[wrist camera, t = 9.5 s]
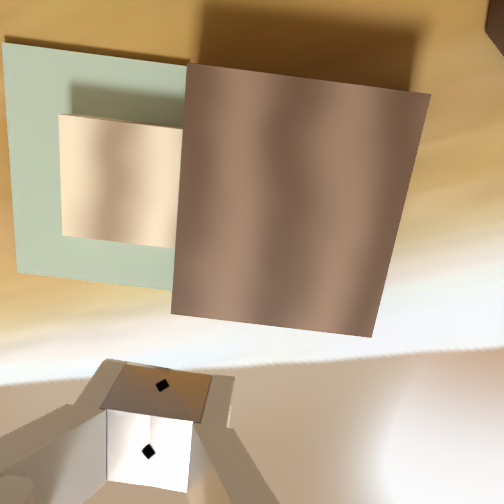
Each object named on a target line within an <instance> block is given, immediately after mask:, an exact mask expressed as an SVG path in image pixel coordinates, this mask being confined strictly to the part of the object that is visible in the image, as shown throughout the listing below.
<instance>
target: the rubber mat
mask: <svg viewBox="0 0 504 504" xmlns="http://www.w3.org/2000/svg"><path fill="white" fill-rule="evenodd" d="M2 55H3V70H4V84H5V99H6V113H7V128H8V143H9V157H10V172H11V186H12V201H13V215H14V230H15V245H16V259H17V272H18V273H26V274H35V275H43V276H52V277H60V278H68V279H77V280H85V281H93V282H102V283H110V284H118V285H127V286H135V287H143V288H152V289H160V290H169V291H172V289H173V273H174V258H175V249H173V248H165V247H156V246H148V245H139V244H131V243H122V242H114V241H105V240H97V239H88V238H80V237H71V236H63V235H62V209H61V179H60V150H59V120H58V114H71V113H72V114H80V115H88V116H96V117H105V118H113V119H121V120H129V121H137V122H145V123H154V124H162V125H170V126H178V127H183V117H184V101H185V85H186V70H187V66H182V65H174V64H166V63H159V62H151V61H143V60H135V59H128V58H120V57H112V56H104V55H97V54H89V53H81V52H74V51H66V50H58V49H50V48H43V47H35V46H27V45H19V44H12V43H4V42H2Z"/></svg>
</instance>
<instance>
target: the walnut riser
mask: <svg viewBox="0 0 504 504" xmlns="http://www.w3.org/2000/svg"><path fill="white" fill-rule="evenodd" d="M430 97H431V94H425V93H418V92H410V91H402V90H395V89H387V88H379V87H371V86H364V85H356V84H348V83H340V82H333V81H325V80H317V79H309V78H302V77H294V76H286V75H279V74H271V73H263V72H255V71H248V70H240V69H232V68H224V67H217V66H209V65H201V64H194V63H187V70H186V85H185V101H184V117H183V132H182V148H181V164H180V179H179V195H178V211H177V226H176V242H175V258H174V273H173V289H172V305H171V314H176V315H184V316H193V317H201V318H210V319H218V320H226V321H235V322H243V323H252V324H260V325H269V326H277V327H285V328H294V329H302V330H311V331H319V332H328V333H336V334H344V335H353V336H361V337H370V338H371V337H372V333H373V329H374V325H375V321H376V317H377V313H378V309H379V305H380V301H381V297H382V292H383V288H384V284H385V280H386V276H387V272H388V268H389V264H390V260H391V256H392V252H393V248H394V244H395V239H396V235H397V231H398V227H399V223H400V219H401V215H402V211H403V207H404V203H405V199H406V195H407V191H408V186H409V182H410V178H411V174H412V170H413V166H414V162H415V158H416V154H417V150H418V146H419V142H420V138H421V133H422V129H423V125H424V121H425V117H426V113H427V109H428V105H429V101H430Z"/></svg>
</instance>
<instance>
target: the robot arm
mask: <svg viewBox="0 0 504 504" xmlns="http://www.w3.org/2000/svg"><path fill="white" fill-rule="evenodd" d="M234 383H235V378H234V377H232V376H223V375H208V374H201V373H194V372H187V371H180V370H173V369H169V368H163V367H157V366H151V365H145V364H139V363H133V362H126V361H120V360H113V359H106V360H104V361H103V362H102V364H101V365H100V366H99V368H98V369H97V371H96V372H95V374H94V375H93V377H92V378H91V380H90V381H89V383H88V384H87V386H86V387H85V388H84V390H83V391H82V393H81V394H80V396H79V397H78V399H77V400H76V402H75V403H74V405H69V404H66V405H64V406H62V407H60V408H58V409H56V410H54V411H52V412H50V413H48V414H46V415H44V416H42V417H40V418H38V419H36V420H34V421H32V422H30V423H28V424H26V425H24V426H22V427H20V428H18V429H16V430H14V431H12V432H10V433H8V434H6V435H4V436H2V437H0V504H82V503H83V502H84V501H85V500H86V499H88V498H89V497H90V496H91V495H92V494H94V493H95V492H96V491H97V490H98V489H99V488H101V487H102V486H103V485H104V484H105V483H106V480H109V481H118V482H127V483H134V484H143V485H149V486H155V487H160V488H166V489H171V490H177V491H183V492H186V496H187V498H188V501H189V504H280V503H279V501H278V500H277V498H276V497H275V495H274V493H273V492H272V490H271V489H270V487H269V486H268V484H267V482H266V481H265V479H264V477H263V476H262V474H261V472H260V471H259V469H258V468H257V466H256V464H255V463H254V461H253V460H252V458H251V456H250V455H249V453H248V452H247V450H246V448H245V447H244V445H243V444H242V442H241V440H240V439H239V437H238V436H237V434H236V432H235V431H234V429H231V428H229V423H230V414H231V407H232V399H233V392H234Z"/></svg>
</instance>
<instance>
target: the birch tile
mask: <svg viewBox="0 0 504 504" xmlns="http://www.w3.org/2000/svg"><path fill="white" fill-rule="evenodd" d="M58 120H59V150H60V179H61V209H62V235H63V236H71V237H80V238H88V239H97V240H105V241H114V242H122V243H131V244H139V245H148V246H156V247H165V248H173V249H175V242H176V226H177V211H178V195H179V179H180V164H181V148H182V132H183V127H178V126H170V125H162V124H154V123H145V122H137V121H129V120H121V119H113V118H105V117H96V116H88V115H80V114H72V113H71V114H58Z"/></svg>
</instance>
